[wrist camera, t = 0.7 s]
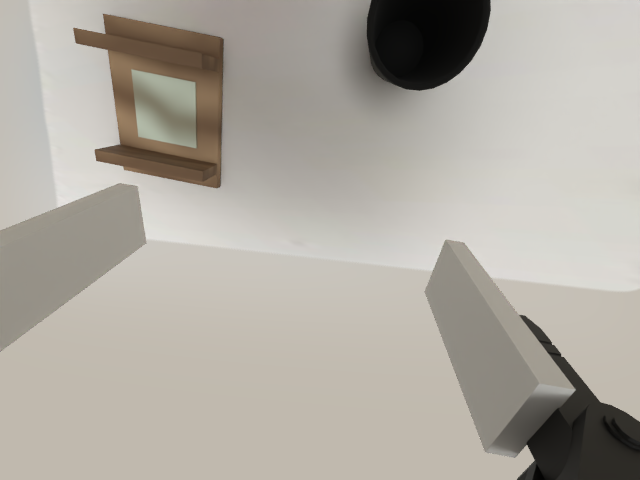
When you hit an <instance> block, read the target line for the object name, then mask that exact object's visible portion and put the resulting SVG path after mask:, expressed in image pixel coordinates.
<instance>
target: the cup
mask: <svg viewBox="0 0 640 480" xmlns="http://www.w3.org/2000/svg"><path fill="white" fill-rule="evenodd" d="M490 11H491V6H490V0H371V5H370V9H369V13H368V18H367V40H368V46H369V52H370V59H371V64H372V66H373V69H374V70H375V72H376V73H377V74H378V76H380V77H381V78H382V79H384V80H386V81H388V82H390V83H392V84H394V85H397V86H399V87H402V88H404V89H409V90H419V91H420V90H426V89H432V88H435V87H437V86H440V85H442V84H444V83H447V82H448V81H450V80H451V79H452V78H454V77H455V76H456V75H458V74H459V73H460V72H461V71H462V70H463V69H464V68H465V67H466V66H467V65H468V64H469V63H470V62H471V60H472V59H473V57H474V56H475V54H476V52H477V51H478V49H479V48H480V46H481V43H482V41H483V38H484V36H485V33H486V31H487V27H488V22H489V17H490Z"/></svg>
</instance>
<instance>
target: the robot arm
mask: <svg viewBox="0 0 640 480" xmlns="http://www.w3.org/2000/svg"><path fill="white" fill-rule="evenodd" d="M144 244H146V237H145V231H144V225H143V218H142V212H141V206H140V200H139V193H138V187H137V186H133V185H127V184H121V183H119V184H117V185H114V186H111V187H109V188H106V189H104V190H101V191H99V192H96V193H94V194H91V195H89V196H86V197H84V198H81V199H79V200H76V201H74V202H71V203H69V204H66V205H64V206H61V207H59V208H56V209H54V210H51V211H49V212H46V213H44V214H41V215H39V216H36V217H33V218H31V219H29V220H26V221H23V222H21V223H19V224H16V225H13V226H11V227H9V228H6V229H3V230H1V231H0V352H1V351H2V350H3V349H4V348H6V347H7V346H9V345H10V344H11V343H13V342H14V341H15V340H17V339H18V338H19V337H21V336H22V335H23V334H25V333H26V332H27V331H29V330H30V329H31V328H33V327H34V326H36V325H37V324H38V323H39V322H41V321H42V320H44V319H45V318H46V317H48V316H49V315H50V314H52V313H53V312H54V311H56V310H57V309H58V308H59V307H61V306H62V305H64V304H65V303H66V302H68V301H69V300H70V299H72V298H73V297H75V296H76V295H77V294H79V293H80V292H81V291H83V290H84V289H85V288H87V287H88V286H89V285H91V284H92V283H93V282H95V281H96V280H97V279H98V278H100V277H101V276H103V275H104V274H105V273H107V272H108V271H109V270H111V269H112V268H113V267H115V266H116V265H118V264H119V263H120V262H122V261H123V260H124V259H125V258H127V257H128V256H130V255H131V254H132V253H134V252H135V251H136V250H138V249H139V248H140V247H142V246H143V245H144ZM425 294H426V297H427V299H428V302H429V304H430V307H431V310H432V313H433V315H434V318H435V320H436V323H437V326H438V328H439V331H440V334H441V336H442V339H443V341H444V344H445V347H446V349H447V352H448V355H449V358H450V360H451V363H452V365H453V368H454V371H455V373H456V376H457V379H458V381H459V384H460V387H461V389H462V392H463V395H464V397H465V400H466V403H467V405H468V408H469V410H470V413H471V416H472V418H473V421H474V424H475V426H476V429H477V432H478V434H479V437H480V440H481V442H482V445H483V448H484V450H485V452H487V453H492V454H498V455H504V456H509V457H514V458H515V457H516V456H517V455H518V454H519V453H520V452H521V450H522V449H523V448H524V447H525V446H526V445H528V447H529V449H530V451H531V453H532V455H533V457H534V459H535V461H534V462H533V463H532V464H531V465H530V466H529V467H528V468H527V469H526V470H525V471H524V472H523V473H522V475H520V477H518V479H517V480H640V422H639V421H637V420H636V419H634V418H633V417H632V416H630V415H629V414H627V413H626V412H624V411H622V410H620V409H618V408H616V407H613V406H612V405H608V404H604V403H601V402H600V401H599V400H598V399H597V398H596V396H595V395H594V394H593V393H592V391H591V390H590V389H589V388H588V386H587V385H586V384H585V383H584V382H583V380H582V379H581V378H580V377H579V375H578V374H577V373H576V372H575V371H574V369H573V368H572V367H571V365H570V364H569V363H568V362H567V361H566V359H565V358H564V357H561V353H560V352H559V351H558V349H557V348H556V347H555V346H554V345H552V342H551V341H550V339H549V338H548V337H547V336H546V335H545V333H544V332H543V331H542V330H541V329H540V328H539V327H538V326H537V325H535V324H534V323H533V322H532V321H531V320H529V319H528V318H527V317H526V316H523V315H519V314H518V313H517V312H516V311H515V309H514V308H513V307H512V305H511V304H510V303H509V301H508V300H507V299H506V297H505V296H504V295H503V293H502V292H501V291H500V290H499V288H498V287H497V286H496V284H495V283H494V282H493V280H492V279H491V278H490V276H489V275H488V274H487V272H486V271H485V270H484V268H483V267H482V266H481V265H480V263H479V262H478V261H477V259H476V258H475V257H474V255H473V254H472V253H471V251H470V250H469V249H468V247H467V246H466V245H465V244H464V243H463V242H457V241H451V240H445V242H444V245H443V247H442V250H441V252H440V255H439V257H438V260H437V262H436V265H435V267H434V270H433V272H432V275H431V277H430V280H429V283H428V285H427V287H426V290H425Z"/></svg>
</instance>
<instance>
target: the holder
mask: <svg viewBox="0 0 640 480" xmlns="http://www.w3.org/2000/svg"><path fill="white" fill-rule="evenodd" d="M103 17H104V25H105V32H106V34H102V33H97V32H92V31H87V30H82V29H77V28H73V29H74V35H75V41H76V43H77V44H82V45H87V46H92V47H97V48H102V49H106V50H108V55H109V62H110V69H111V77H112V84H113V92H114V99H115V107H116V114H117V122H118V129H119V137H120V144H121V145H116V146H111V147H106V148H101V149H96V150H95V155H96V161H100V162H105V163H110V164H115V165H120V166H123V167H124V170H128V171H133V172H138V173H143V174H148V175H153V176H158V177H163V178H168V179H173V180H178V181H183V182H188V183H193V184H198V185H203V186H208V187H213V188H218V187H220V175H221V126H222V77H223V39H222V38H220V37H215V36H210V35H205V34H200V33H195V32H190V31H186V30H181V29H176V28H171V27H166V26H161V25H156V24H151V23H146V22H141V21H136V20H131V19H126V18H121V17H116V16H111V15H106V14H103Z"/></svg>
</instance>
